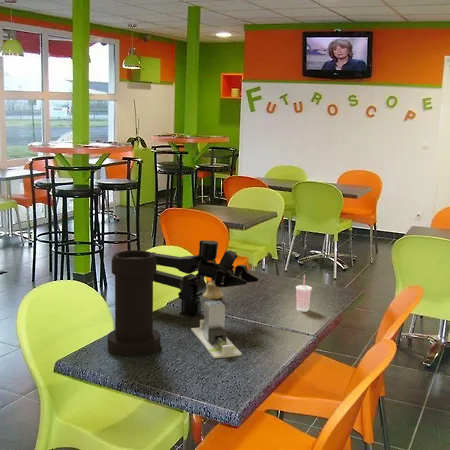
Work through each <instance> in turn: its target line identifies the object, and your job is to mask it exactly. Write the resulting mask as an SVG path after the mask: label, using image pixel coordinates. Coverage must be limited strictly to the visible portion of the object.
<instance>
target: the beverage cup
mask: <svg viewBox="0 0 450 450" xmlns="http://www.w3.org/2000/svg"><path fill="white" fill-rule="evenodd" d="M305 280H306V274H303V284H302V285H301V284H300V285H296V286H295V290H296V294H295V295H296V311H298V312H308V311H309V309H310V304H311V303H310V302H311V294H312V289H313V287H312V286H309V285H307V284H306V285H305Z"/></svg>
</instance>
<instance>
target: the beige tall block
mask: <svg viewBox="0 0 450 450" xmlns="http://www.w3.org/2000/svg"><path fill="white" fill-rule="evenodd" d="M225 315H226V305H225V304H224V303H223V302H222V301H221V300H214V301H213V300H212V301H204V313H203V318H204V319H203V320H204V336H205V338H206V339H207V340H208V341H209V334H210V330H218V329H225V324H226V323H225V321H226V320H225ZM220 337H221V336H220Z"/></svg>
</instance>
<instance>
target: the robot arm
mask: <svg viewBox="0 0 450 450" xmlns="http://www.w3.org/2000/svg"><path fill="white" fill-rule="evenodd" d="M198 244H199V248H198V254H197V255H185V256H178V255H177V256H176V255H170V254H163V253H156V252H151V253H153V254H154V255H155V257H156V266H162V267H166V268H167V267H168V268H172V269H177V270H178V271H179V272H181V273H185V274H186V275H184V276H180V275H177V274H173V273H170V272H165V271H161V270H158V269H156V273H155V274H153V283H158V284H161V285H164V286H169V287H173V288H176V289H179V290H180V291H179V292H178V293H177V295H178V299H180V301H181V303H180V304H181V306H180V307H181V308H180V310H181V311H179V312H178V313H179V315H183V316H189V317H195V316H197V315H199V314H201V313H203V311H202V302H201V296H203V294H204V292H206V290H207V283H206V280H205V278H208V279H211V278H212V280H214V281H215V285H216V286H217V287H219V289H222V288H230V287H231V288H232V287H236V286H237V287H238V286H245V285H247V284H248V283H255V282H259V278H258V277H257V276H255V275H253V274H252V273H250V272H249V270H248V267H247V265H246V264H239V265H237V266H236V267H235V266H234V265H233V264H234V262H235V261H236V260H237V258H238V256H239V255H238V254H237V252H236V251H233V250H232V249H231V250H226V251H224V253H223V255H222V257H221V259H220V261H219V263H217V262H216V263H213V262H211V261H213V260H214V259H215V260H216V259H217V254H218V246H219V242H218V241H217V240H205V239H201V240H199V243H198ZM234 267H235V268H234ZM196 272H197V273H196ZM194 273H196V274H194Z"/></svg>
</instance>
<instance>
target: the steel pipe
mask: <svg viewBox="0 0 450 450" xmlns="http://www.w3.org/2000/svg"><path fill="white" fill-rule="evenodd" d="M203 326H204V323H203ZM215 340H216V341H217V342H218V343H219V345H220V346H221V347H222V345H227V343H226V342H225V341H223V339H222V338H221V337H220V336H215Z"/></svg>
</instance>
